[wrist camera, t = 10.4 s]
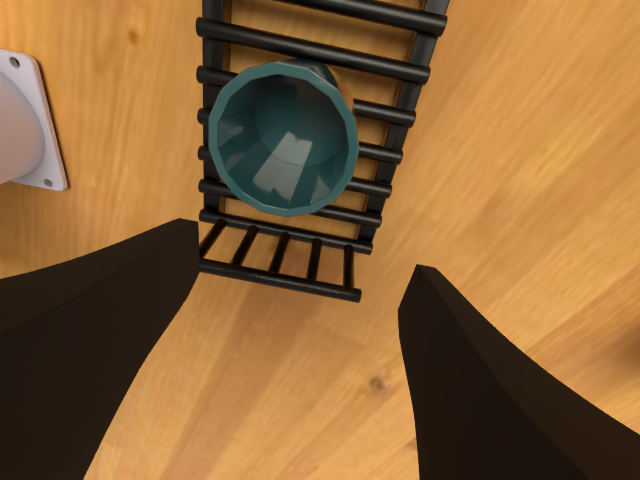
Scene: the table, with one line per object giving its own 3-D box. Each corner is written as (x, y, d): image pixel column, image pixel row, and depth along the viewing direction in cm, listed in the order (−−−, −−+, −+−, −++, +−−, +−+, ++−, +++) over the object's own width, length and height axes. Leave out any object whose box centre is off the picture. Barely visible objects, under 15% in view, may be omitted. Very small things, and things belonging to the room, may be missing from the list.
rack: (210, 210, 22) (160, 269, 16) (212, -94, 14) (114, -195, 8) (368, 242, 22) (375, 311, 16) (456, -38, 14) (529, -97, 8)
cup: (248, 158, 17) (208, 201, 13) (255, 47, 15) (208, 46, 10) (342, 177, 18) (340, 228, 13) (367, 71, 15) (376, 82, 10)
